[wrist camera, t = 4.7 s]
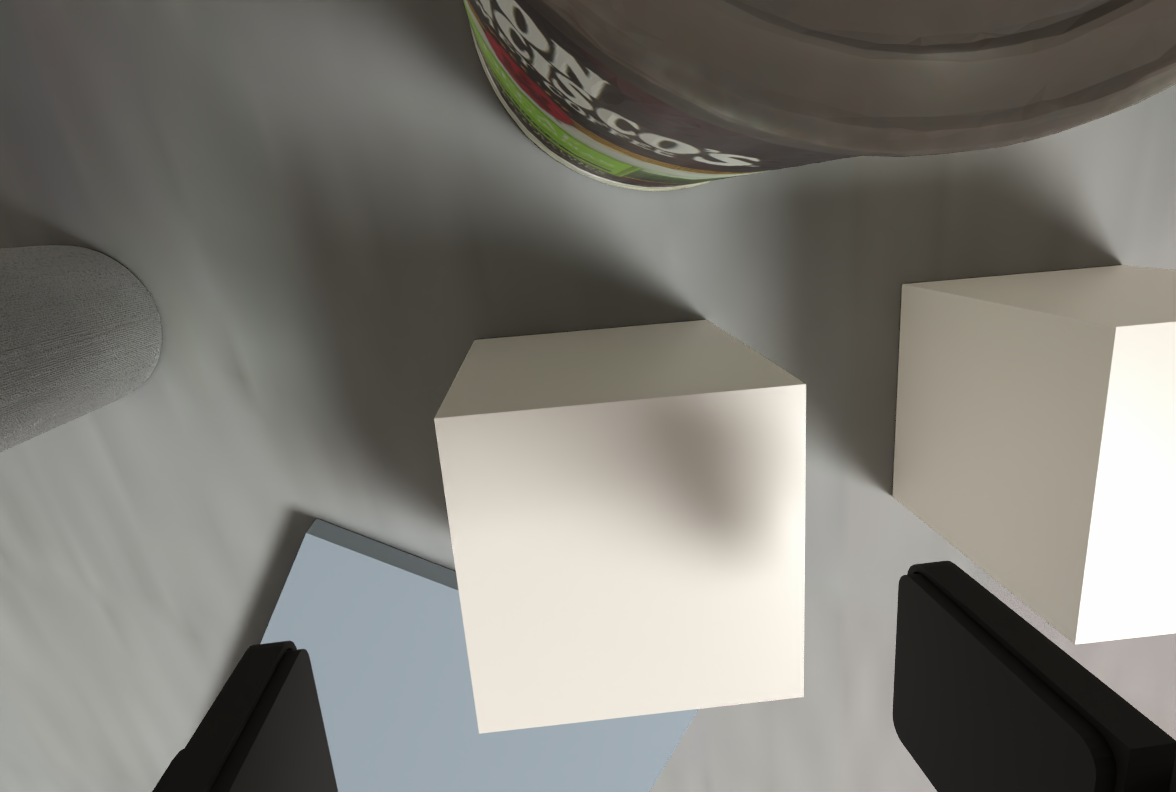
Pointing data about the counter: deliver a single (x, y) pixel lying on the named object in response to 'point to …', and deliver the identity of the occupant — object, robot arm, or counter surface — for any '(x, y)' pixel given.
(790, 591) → the white box
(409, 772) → the slate board
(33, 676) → the counter surface
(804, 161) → the coffee can
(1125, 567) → the plain white cube box
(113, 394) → the grey cylinder
